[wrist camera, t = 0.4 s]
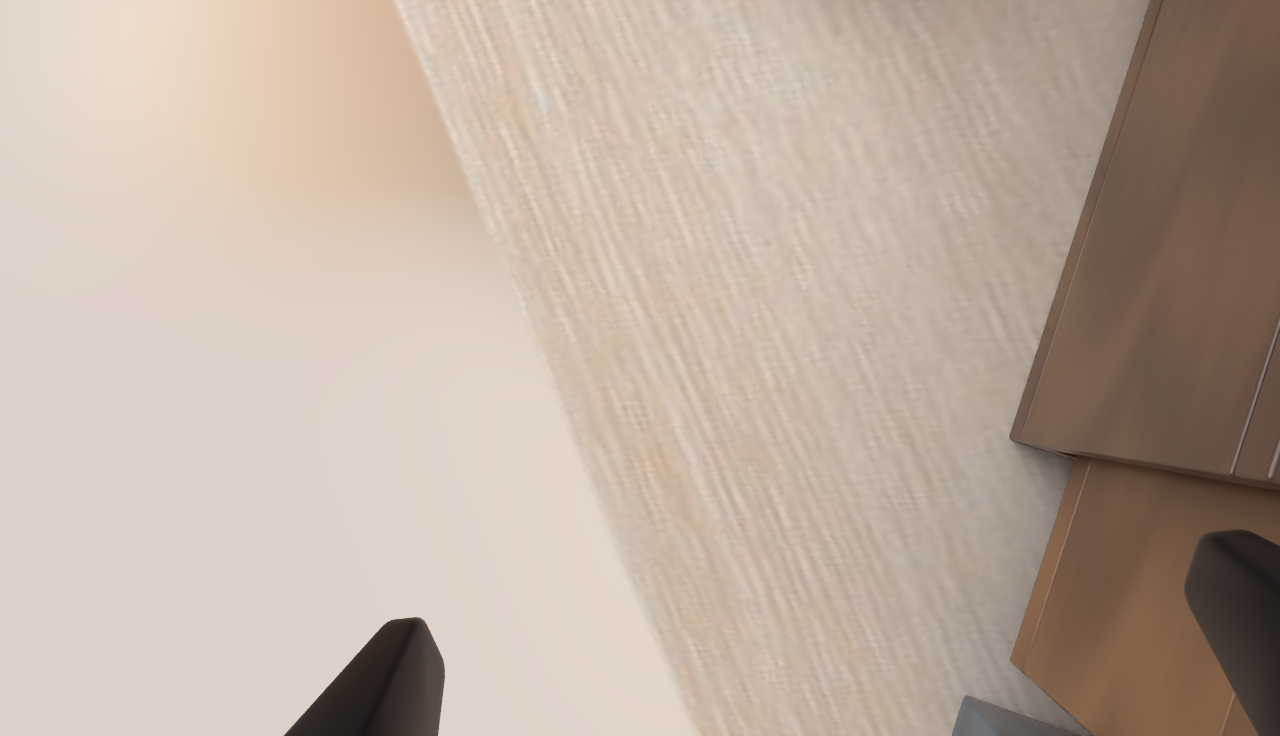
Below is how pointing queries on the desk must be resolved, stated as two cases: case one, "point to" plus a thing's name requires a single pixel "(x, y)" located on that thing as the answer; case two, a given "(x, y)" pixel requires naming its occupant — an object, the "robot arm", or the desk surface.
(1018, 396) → the desk surface
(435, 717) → the robot arm
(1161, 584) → the drawer
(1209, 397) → the cabinet
